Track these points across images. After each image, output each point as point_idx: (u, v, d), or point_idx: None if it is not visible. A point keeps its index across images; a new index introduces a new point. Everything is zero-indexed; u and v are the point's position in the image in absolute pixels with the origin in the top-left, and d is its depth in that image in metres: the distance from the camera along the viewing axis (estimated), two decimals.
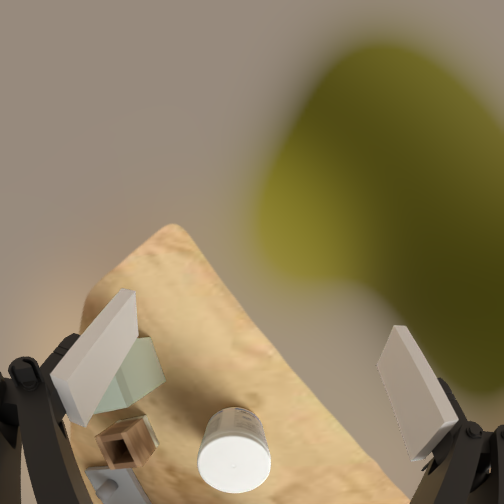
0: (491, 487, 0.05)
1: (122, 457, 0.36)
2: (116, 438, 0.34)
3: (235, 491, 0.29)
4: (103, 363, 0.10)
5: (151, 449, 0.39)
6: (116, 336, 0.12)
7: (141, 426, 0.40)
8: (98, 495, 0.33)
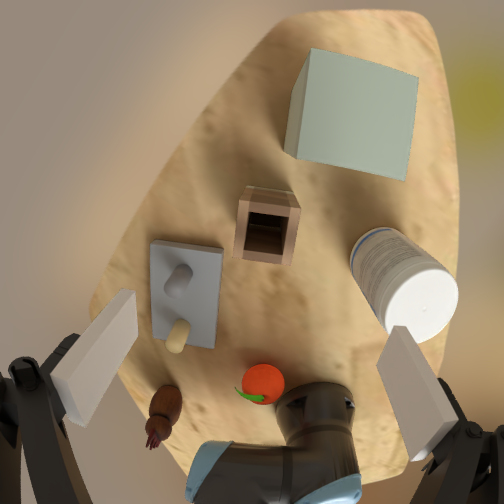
0: (491, 487, 0.05)
1: (251, 241, 0.33)
2: (278, 212, 0.29)
3: None
4: (103, 363, 0.10)
5: None
6: (116, 336, 0.12)
7: None
8: (167, 288, 0.36)
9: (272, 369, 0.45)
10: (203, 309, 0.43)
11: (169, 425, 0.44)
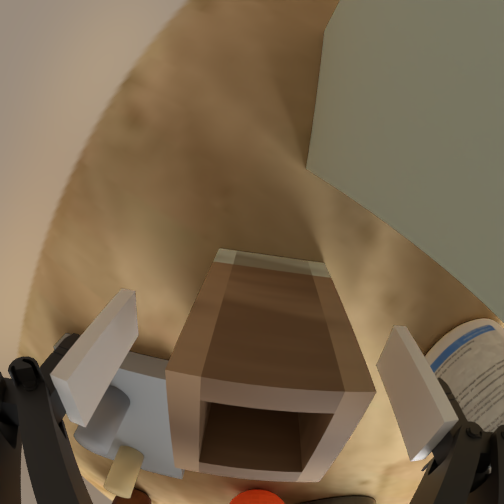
0: (491, 487, 0.05)
1: (224, 414, 0.12)
2: (300, 407, 0.08)
3: None
4: (103, 363, 0.10)
5: None
6: (116, 336, 0.12)
7: None
8: (80, 440, 0.15)
9: (270, 503, 0.23)
10: (158, 443, 0.21)
11: None
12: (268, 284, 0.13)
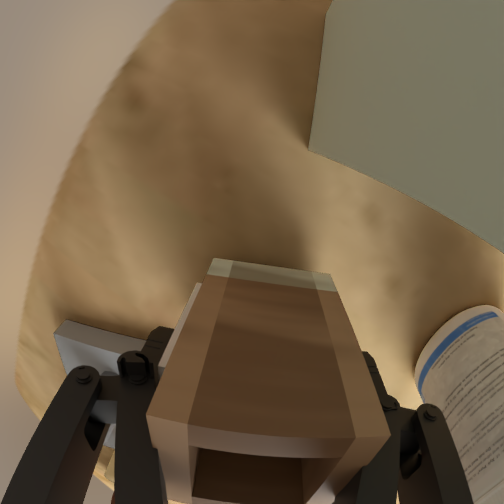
0: (427, 474, 0.06)
1: None
2: (304, 453, 0.06)
3: None
4: None
5: None
6: None
7: None
8: None
9: None
10: None
11: None
12: (267, 302, 0.12)
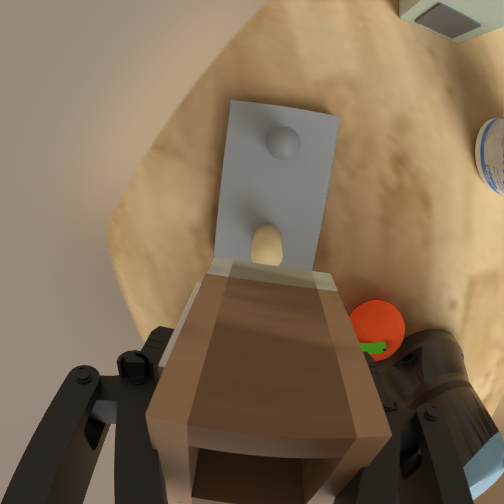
0: (427, 474, 0.06)
1: None
2: (305, 453, 0.06)
3: None
4: None
5: None
6: None
7: None
8: (272, 142, 0.21)
9: (390, 304, 0.30)
10: (305, 204, 0.28)
11: None
12: (268, 301, 0.12)
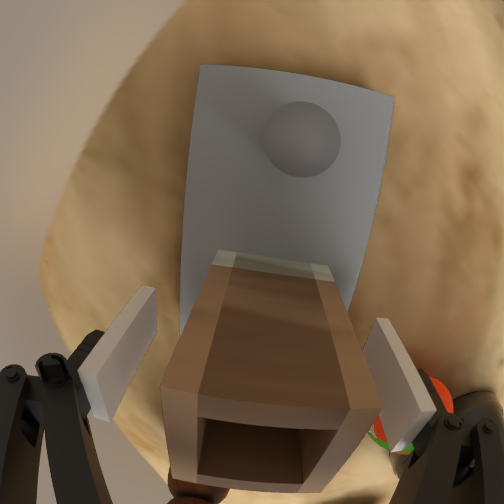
0: (476, 482, 0.05)
1: (223, 423, 0.11)
2: (303, 423, 0.07)
3: None
4: (127, 358, 0.11)
5: None
6: (138, 332, 0.12)
7: None
8: (276, 136, 0.09)
9: (439, 383, 0.18)
10: (332, 250, 0.16)
11: None
12: (269, 289, 0.13)
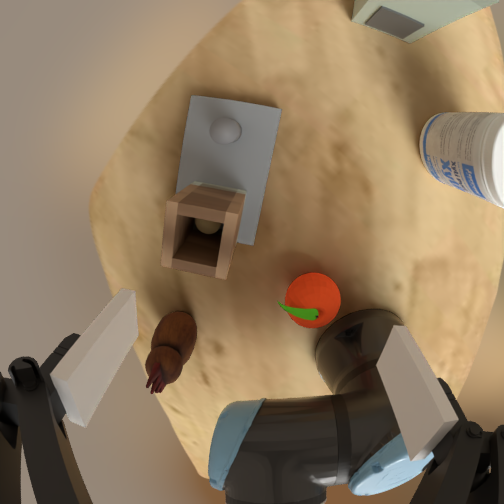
0: (491, 487, 0.05)
1: (186, 247, 0.28)
2: (211, 217, 0.24)
3: None
4: (103, 363, 0.10)
5: (234, 249, 0.31)
6: (116, 336, 0.12)
7: (242, 207, 0.30)
8: (214, 129, 0.26)
9: (327, 277, 0.36)
10: (249, 183, 0.33)
11: (180, 360, 0.34)
12: (212, 191, 0.30)
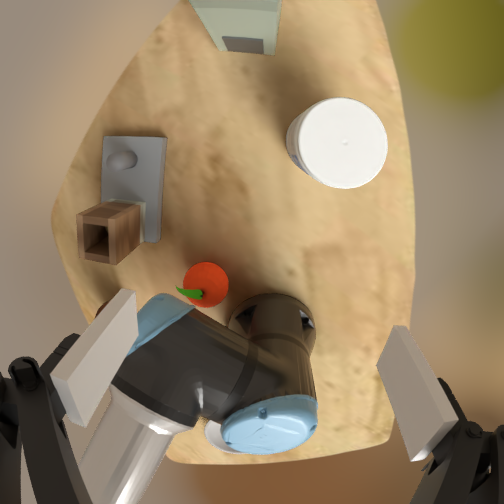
0: (491, 487, 0.05)
1: (98, 245, 0.38)
2: (100, 223, 0.34)
3: (325, 179, 0.28)
4: (103, 363, 0.10)
5: (133, 245, 0.41)
6: (116, 336, 0.12)
7: (134, 215, 0.39)
8: (108, 162, 0.36)
9: (213, 265, 0.44)
10: (146, 196, 0.42)
11: None
12: (115, 205, 0.39)
